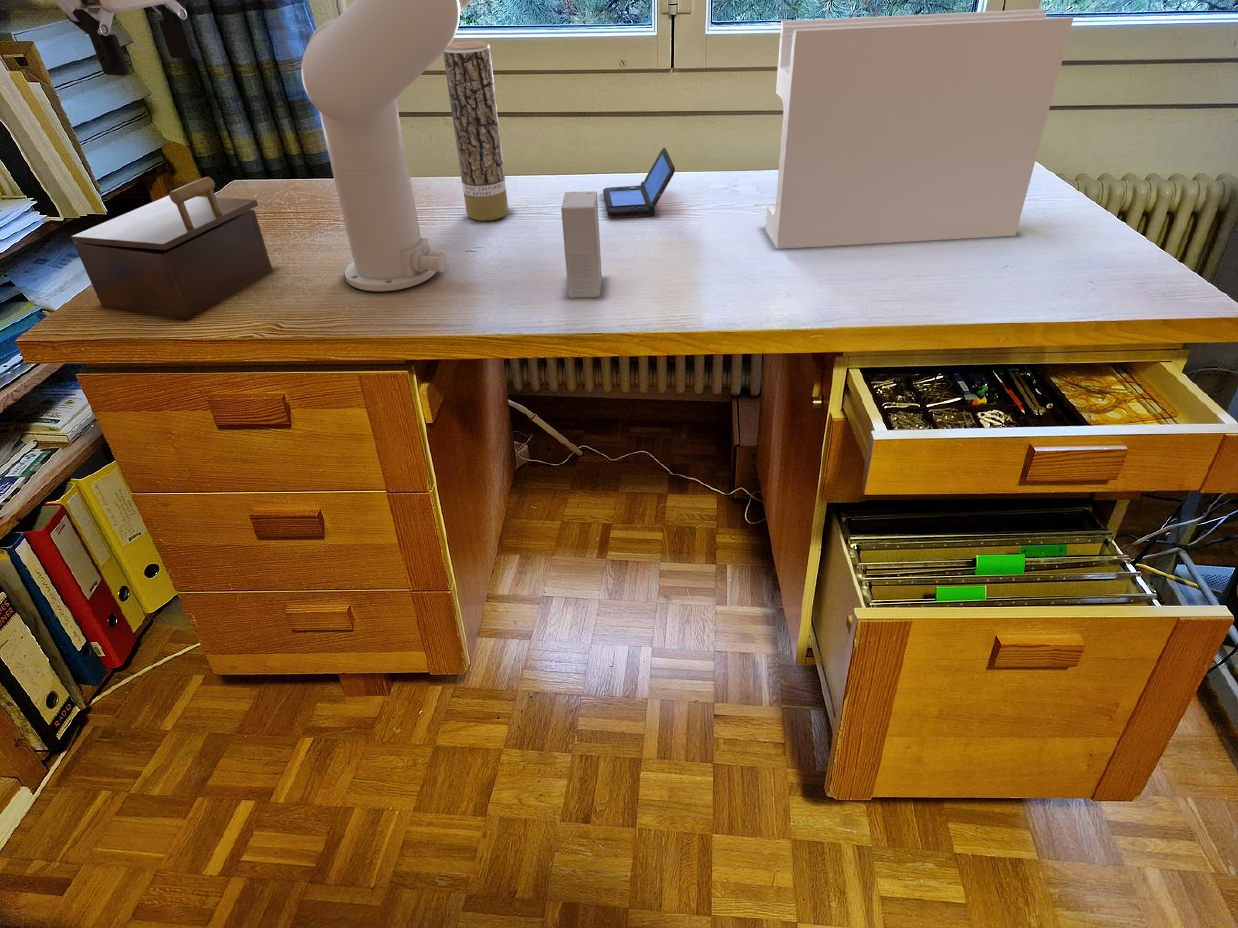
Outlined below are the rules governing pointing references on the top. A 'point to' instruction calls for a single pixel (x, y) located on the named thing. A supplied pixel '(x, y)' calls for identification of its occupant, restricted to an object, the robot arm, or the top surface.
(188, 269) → the keepsake box
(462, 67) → the paper tube
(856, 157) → the block
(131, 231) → the lid
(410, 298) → the top surface
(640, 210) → the handheld game console
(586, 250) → the cosmetic box
